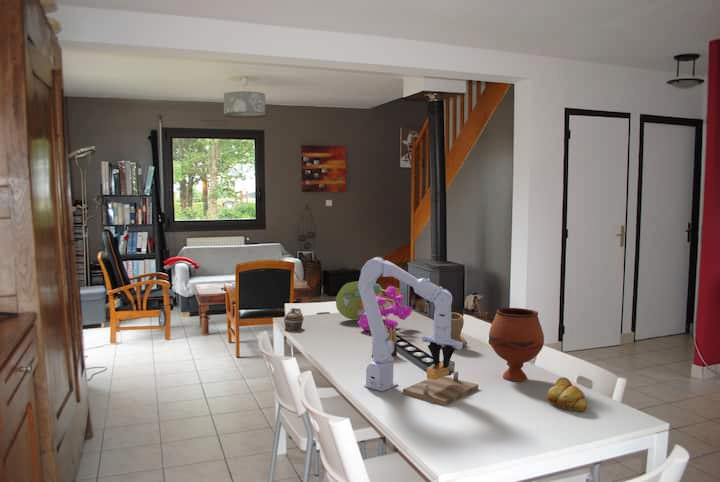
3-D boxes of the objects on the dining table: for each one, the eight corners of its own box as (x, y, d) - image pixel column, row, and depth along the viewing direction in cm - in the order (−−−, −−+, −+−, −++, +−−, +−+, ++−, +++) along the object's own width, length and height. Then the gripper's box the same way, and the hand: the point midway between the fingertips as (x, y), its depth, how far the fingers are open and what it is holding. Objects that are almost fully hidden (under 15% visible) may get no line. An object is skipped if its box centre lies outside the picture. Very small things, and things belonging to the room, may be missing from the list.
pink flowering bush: (381, 263, 302) (413, 281, 271) (389, 311, 310) (420, 334, 279) (330, 279, 291) (357, 300, 260) (339, 328, 300) (366, 354, 269)
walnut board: (444, 405, 175) (445, 391, 174) (402, 393, 185) (403, 380, 184) (478, 388, 191) (478, 375, 191) (438, 378, 202) (438, 366, 201)
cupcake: (285, 326, 281) (285, 306, 280) (304, 326, 280) (304, 307, 280) (281, 330, 271) (282, 310, 270) (301, 331, 271) (302, 310, 270)
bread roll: (594, 412, 173) (595, 386, 172) (571, 416, 168) (572, 390, 168) (563, 398, 184) (564, 374, 184) (540, 402, 180) (541, 377, 180)
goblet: (481, 370, 213) (483, 305, 211) (530, 370, 214) (533, 306, 213) (496, 386, 194) (499, 315, 192) (550, 386, 195) (553, 316, 194)
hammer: (436, 380, 182) (436, 369, 182) (425, 377, 185) (425, 367, 184) (456, 371, 192) (457, 361, 192) (445, 369, 195) (446, 359, 195)
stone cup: (446, 351, 239) (448, 317, 238) (430, 345, 250) (431, 312, 249) (474, 348, 247) (475, 314, 246) (457, 341, 257) (458, 309, 256)
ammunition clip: (394, 354, 233) (395, 326, 232) (396, 355, 231) (397, 327, 230) (371, 356, 228) (372, 328, 227) (373, 358, 227) (374, 328, 226)
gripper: (467, 327, 186) (466, 368, 186) (430, 321, 195) (429, 359, 196) (456, 331, 180) (455, 372, 181) (419, 324, 189) (418, 363, 190)
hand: (441, 366), depth 188 cm, fingers closed on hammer, 3 cm apart
